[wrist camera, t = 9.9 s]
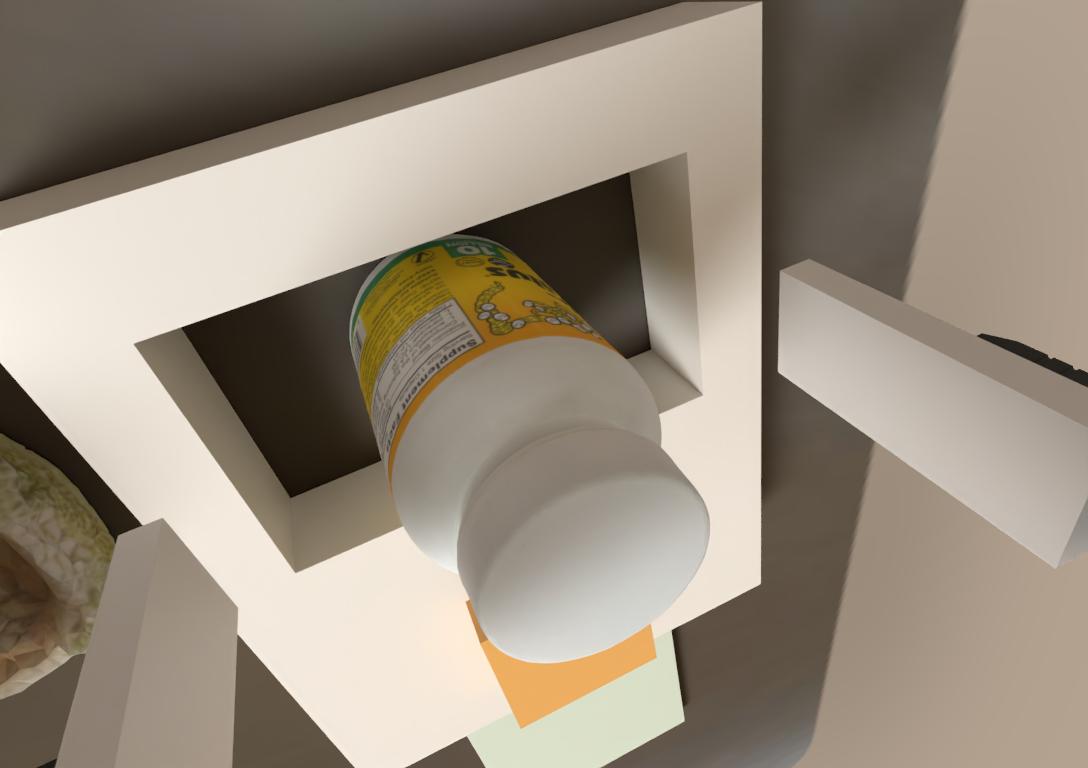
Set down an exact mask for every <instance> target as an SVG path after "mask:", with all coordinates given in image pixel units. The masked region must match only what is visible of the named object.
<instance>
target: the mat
mask: <svg viewBox="0 0 1088 768" xmlns="http://www.w3.org/2000/svg"><path fill="white" fill-rule="evenodd" d="M654 644H655V650H656V655H657V658H655V659H654V660H652V661H650V662H648V663H646V664H644V665H642V666H640V667H638V668H636V669H634V670H633V671H631V672H629V673H627V674H625V675H623V676H621V677H619V678H617V679H615V680H613V681H612V682H610V683H608V684H606V685H604V686H602V687H600V688H598V689H596V690H594V691H592V692H591V693H589V694H587V695H585V696H583V697H581V698H579V699H577V700H575V701H573V702H571V703H570V704H568V705H566V706H564V707H562V708H560V709H558V710H556V711H554V712H552V713H550V714H549V715H547V716H545V717H543V718H541V719H539V720H537V721H535V722H533V723H531V724H529V725H528V726H526V727H524V728H522V729H520V726H519V724H518V722H517V720H516V718H515V716H514V714H513V712H512V713H510V714H508V715H506V716H504V717H502V718H500V719H498V720H496V721H494V722H492V723H490V724H488V725H487V726H485V727H483V728H481V729H479V730H477V731H475V732H473V733H471V734H469V735H467V737H468V738H469V740H470V742H471V743H472V745H473V747H474V749H475V750H476V752H477V754H478V755H479V757H480V759H481V760H482V762H483V764H484V765H485V767H486V768H600V767H602V766H604V765H606V764H608V763H609V762H611V761H613V760H615V759H617V758H619V757H620V756H622V755H624V754H626V753H628V752H629V751H631V750H633V749H635V748H637V747H638V746H640V745H642V744H644V743H646V742H648V741H649V740H651V739H653V738H655V737H657V736H658V735H660V734H662V733H664V732H666V731H667V730H669V729H671V728H673V727H675V726H677V725H678V724H680V723H682V722H684V721H685V720H684V713H683V706H682V699H681V693H680V686H679V679H678V672H677V665H676V659H675V652H674V645H673V638H672V631H671V630H670V631H669V632H667V633H665V634H663V635H661V636H659V637H657V638H655V639H654Z"/></svg>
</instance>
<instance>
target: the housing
mask: <svg viewBox="0 0 1088 768" xmlns="http://www.w3.org/2000/svg"><path fill="white" fill-rule="evenodd" d="M627 172H629V174H630V182H631V190H632V198H633V206H634V214H635V222H636V231H637V239H638V247H639V255H640V263H641V271H642V279H643V288H644V296H645V304H646V312H647V320H648V328H649V336H650V345H651V350H649V351H646V352H644V353H641V354H639V355H637V356H634V357H632V358H629V359H627V360H628V361H629V362H630V363H631V364H632V365H633V367H634V368H635V369H636V371H637V372H638V374H639V375H640V376H641V377H642V379H643V380H644V381H645V383H646V384H647V386H648V388H649V390H650V392H651V393H652V395H653V398H654V400H655V403H656V406H657V409H658V413H659V417H660V422H661V432H662V441H661V448H662V449H663V450H664V451H665V452H666V453H667V454H668V455H669V456H670V457H671V458H672V460H673V461H674V463H675V464H676V465H677V466H678V468H679V469H680V470H681V471H682V472H683V474H684V475H685V476H686V477H687V479H688V480H689V481H690V482H691V483H692V484H693V486H694V487H695V488H696V490H697V491H698V492H699V494H700V495H701V497H702V499H703V500H704V502H705V505H706V507H707V511H708V514H709V518H710V536H709V542H708V547H707V550H706V554H705V557H704V559H703V561H702V563H701V565H700V567H699V569H698V570H697V572H696V574H695V576H694V577H693V579H692V580H691V582H690V583H689V584H688V586H687V587H686V589H685V590H684V591H683V593H682V594H681V595H680V596H679V597H678V598H677V599H676V601H675V602H674V603H673V604H672V605H671V606H670V607H669V608H668V609H667V610H666V611H665V612H664V613H663V614H662V615H660V616H659V617H658V618H657V619H655V620H654V621H653V622H652V623H651V627H652V633H653V639H655V638H657V637H659V636H661V635H663V634H665V633H667V632H669V631H670V630H672V629H674V628H676V627H678V626H680V625H682V624H684V623H686V622H688V621H690V620H692V619H694V618H696V617H698V616H700V615H701V614H703V613H705V612H707V611H709V610H711V609H713V608H715V607H717V606H719V605H721V604H723V603H725V602H727V601H729V600H731V599H732V598H734V597H736V596H738V595H740V594H742V593H744V592H746V591H748V590H750V589H752V588H754V587H756V586H758V585H760V584H761V272H762V1H754V2H682V3H678V4H675V5H671V6H668V7H665V8H661V9H658V10H654V11H651V12H647V13H644V14H641V15H637V16H634V17H630V18H627V19H624V20H620V21H617V22H613V23H610V24H606V25H603V26H600V27H596V28H593V29H589V30H586V31H582V32H579V33H576V34H572V35H569V36H565V37H562V38H559V39H555V40H552V41H548V42H545V43H541V44H538V45H535V46H531V47H528V48H524V49H521V50H517V51H514V52H511V53H507V54H504V55H500V56H497V57H493V58H490V59H487V60H483V61H480V62H476V63H473V64H470V65H466V66H463V67H459V68H456V69H452V70H449V71H446V72H442V73H439V74H435V75H432V76H428V77H425V78H422V79H418V80H415V81H411V82H408V83H405V84H401V85H398V86H394V87H391V88H387V89H384V90H381V91H377V92H374V93H370V94H367V95H363V96H360V97H357V98H353V99H350V100H346V101H343V102H340V103H336V104H333V105H329V106H326V107H322V108H319V109H316V110H312V111H309V112H305V113H302V114H298V115H295V116H292V117H288V118H285V119H281V120H278V121H275V122H271V123H268V124H264V125H261V126H257V127H254V128H251V129H247V130H244V131H240V132H237V133H233V134H230V135H227V136H223V137H220V138H216V139H213V140H210V141H206V142H203V143H199V144H196V145H192V146H189V147H186V148H182V149H179V150H175V151H172V152H168V153H165V154H162V155H158V156H155V157H151V158H148V159H145V160H141V161H138V162H134V163H131V164H127V165H124V166H121V167H117V168H114V169H110V170H107V171H103V172H100V173H97V174H93V175H90V176H86V177H83V178H80V179H76V180H73V181H69V182H66V183H62V184H59V185H56V186H52V187H49V188H45V189H42V190H38V191H35V192H32V193H28V194H25V195H21V196H18V197H15V198H11V199H8V200H4V201H1V202H0V363H1V364H2V365H3V366H4V367H5V369H6V370H7V371H8V372H9V373H10V374H11V375H12V377H13V378H14V379H15V380H16V381H17V382H18V383H19V385H20V386H21V387H22V388H23V389H24V390H25V391H26V393H27V394H28V395H29V396H30V397H31V398H32V399H33V401H34V402H35V403H36V404H37V405H38V406H39V407H40V409H41V410H42V411H43V412H44V413H45V414H46V415H47V417H48V418H49V419H50V420H51V421H52V422H53V423H54V425H55V426H56V427H57V428H58V429H59V430H60V431H61V433H62V434H63V435H64V436H65V437H66V438H67V439H68V440H69V442H70V443H71V444H72V445H73V446H74V447H75V448H76V450H77V451H78V452H79V453H80V454H81V455H82V456H83V458H84V459H85V460H86V461H87V462H88V463H89V464H90V466H91V467H92V468H93V469H94V470H95V471H96V472H97V474H98V475H99V476H100V477H101V478H102V479H103V480H104V482H105V483H106V484H107V485H108V486H109V487H110V488H111V490H112V491H113V492H114V493H115V494H116V495H117V496H118V498H119V499H120V500H121V501H122V502H123V503H124V504H125V506H126V507H127V508H128V509H129V510H130V511H131V512H132V514H133V515H134V516H135V517H136V518H137V519H138V520H139V522H140V523H141V524H142V525H146V524H148V523H151V522H153V521H156V520H158V519H161V518H164V520H165V521H166V522H167V523H168V524H169V526H170V527H171V528H172V529H173V530H174V532H175V533H176V534H177V535H178V536H179V538H180V539H181V540H182V541H183V542H184V544H185V545H186V546H187V547H188V548H189V550H190V551H191V552H192V553H193V554H194V556H195V557H196V558H197V559H198V560H199V562H200V563H201V564H202V565H203V566H204V568H205V569H206V570H207V571H208V572H209V573H210V575H211V576H212V577H213V578H214V579H215V581H216V582H217V583H218V584H219V585H220V587H221V588H222V589H223V590H224V591H225V593H226V594H227V595H228V596H229V597H230V599H231V600H232V601H233V602H234V603H235V605H236V606H237V607H238V627H237V634H238V635H239V636H240V637H241V638H242V639H243V640H244V642H245V643H246V644H247V645H248V646H249V647H250V648H251V650H252V651H253V652H254V653H255V654H256V655H257V656H258V658H259V659H260V660H261V661H262V662H263V663H264V664H265V666H266V667H267V668H268V669H269V670H270V671H271V672H272V674H273V675H274V676H275V677H276V678H277V679H278V680H279V682H280V683H281V684H282V685H283V686H284V687H285V688H286V690H287V691H288V692H289V693H290V694H291V695H292V696H293V698H294V699H295V700H296V701H297V702H298V703H299V704H300V706H301V707H302V708H303V709H304V710H305V711H306V712H307V714H308V715H309V716H310V717H311V718H312V719H313V720H314V722H315V723H316V724H317V725H318V726H319V727H320V728H321V730H322V731H323V732H324V733H325V734H326V735H327V736H328V738H329V739H330V740H331V741H332V742H333V743H334V744H335V746H336V747H337V748H338V749H339V750H340V751H341V752H342V754H343V755H344V756H345V757H346V758H347V759H348V760H349V762H350V763H351V764H352V765H353V766H354V767H355V768H405V767H407V766H409V765H411V764H413V763H415V762H417V761H419V760H421V759H423V758H425V757H426V756H428V755H430V754H432V753H434V752H436V751H438V750H440V749H442V748H444V747H446V746H448V745H450V744H452V743H454V742H456V741H457V740H459V739H461V738H463V737H465V736H467V735H469V734H471V733H473V732H475V731H477V730H479V729H481V728H483V727H485V726H487V725H488V724H490V723H492V722H494V721H496V720H498V719H500V718H502V717H504V716H506V715H508V714H510V713H512V710H511V708H510V705H509V703H508V701H507V699H506V697H505V695H504V693H503V691H502V689H501V687H500V684H499V682H498V680H497V678H496V676H495V674H494V672H493V670H492V668H491V666H490V663H489V661H488V659H487V657H486V655H485V653H484V651H483V649H482V647H481V645H480V642H479V639H478V636H477V633H476V631H475V628H474V625H473V622H472V619H471V616H470V613H469V610H468V608H467V605H466V601H468V600H470V599H469V597H468V594H467V592H466V590H465V588H464V586H463V584H462V582H461V579H460V576H459V574H457V573H454V572H452V571H449V570H447V569H445V568H444V567H442V566H440V565H438V564H437V563H435V562H434V561H433V560H431V559H430V558H429V557H428V556H426V555H425V554H424V553H423V552H422V551H421V550H420V549H419V548H418V547H417V545H416V544H415V543H414V542H413V541H412V539H411V538H410V536H409V535H408V533H407V532H406V530H405V528H404V526H403V524H402V522H401V520H400V518H399V515H398V513H397V510H396V506H395V503H394V500H393V497H392V493H391V490H390V487H389V483H388V480H387V477H386V473H385V470H384V466H383V463H382V461H380V462H377V463H375V464H372V465H370V466H368V467H365V468H363V469H360V470H358V471H355V472H353V473H351V474H348V475H346V476H343V477H341V478H338V479H336V480H334V481H331V482H329V483H326V484H324V485H321V486H319V487H317V488H314V489H312V490H309V491H307V492H305V493H302V494H300V495H297V496H295V497H292V498H290V497H289V495H288V494H287V492H286V490H285V489H284V487H283V486H282V484H281V483H280V481H279V480H278V478H277V476H276V475H275V473H274V472H273V470H272V469H271V467H270V465H269V464H268V462H267V461H266V459H265V458H264V456H263V455H262V453H261V451H260V450H259V448H258V447H257V445H256V444H255V442H254V441H253V439H252V437H251V436H250V434H249V433H248V431H247V430H246V428H245V426H244V425H243V423H242V422H241V420H240V419H239V417H238V416H237V414H236V412H235V411H234V409H233V408H232V406H231V405H230V403H229V402H228V400H227V398H226V397H225V395H224V394H223V392H222V391H221V389H220V387H219V386H218V384H217V383H216V381H215V380H214V378H213V377H212V375H211V373H210V372H209V370H208V369H207V367H206V366H205V364H204V362H203V361H202V359H201V358H200V356H199V355H198V353H197V352H196V350H195V348H194V347H193V345H192V344H191V342H190V341H189V339H188V338H187V336H186V334H185V333H184V331H183V330H182V328H181V327H183V326H186V325H189V324H192V323H195V322H198V321H201V320H203V319H206V318H209V317H212V316H215V315H218V314H221V313H224V312H227V311H229V310H232V309H235V308H238V307H241V306H244V305H247V304H250V303H253V302H255V301H258V300H261V299H264V298H267V297H270V296H273V295H276V294H278V293H281V292H284V291H287V290H290V289H293V288H296V287H299V286H302V285H304V284H307V283H310V282H313V281H316V280H319V279H322V278H325V277H327V276H330V275H333V274H336V273H339V272H342V271H345V270H348V269H351V268H353V267H356V266H359V265H362V264H365V263H368V262H371V261H374V260H377V259H379V258H382V257H385V256H388V255H391V254H394V253H397V252H400V251H402V250H405V249H408V248H411V247H414V246H417V245H420V244H423V243H426V242H428V241H431V240H434V239H437V238H440V237H443V236H446V235H449V234H452V233H454V232H457V231H460V230H463V229H466V228H469V227H472V226H475V225H477V224H480V223H483V222H486V221H489V220H492V219H495V218H498V217H501V216H503V215H506V214H509V213H512V212H515V211H518V210H521V209H524V208H526V207H529V206H532V205H535V204H538V203H541V202H544V201H547V200H550V199H552V198H555V197H558V196H561V195H564V194H567V193H570V192H573V191H576V190H578V189H581V188H584V187H587V186H590V185H593V184H596V183H599V182H601V181H604V180H607V179H610V178H613V177H616V176H619V175H622V174H625V173H627Z"/></svg>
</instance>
